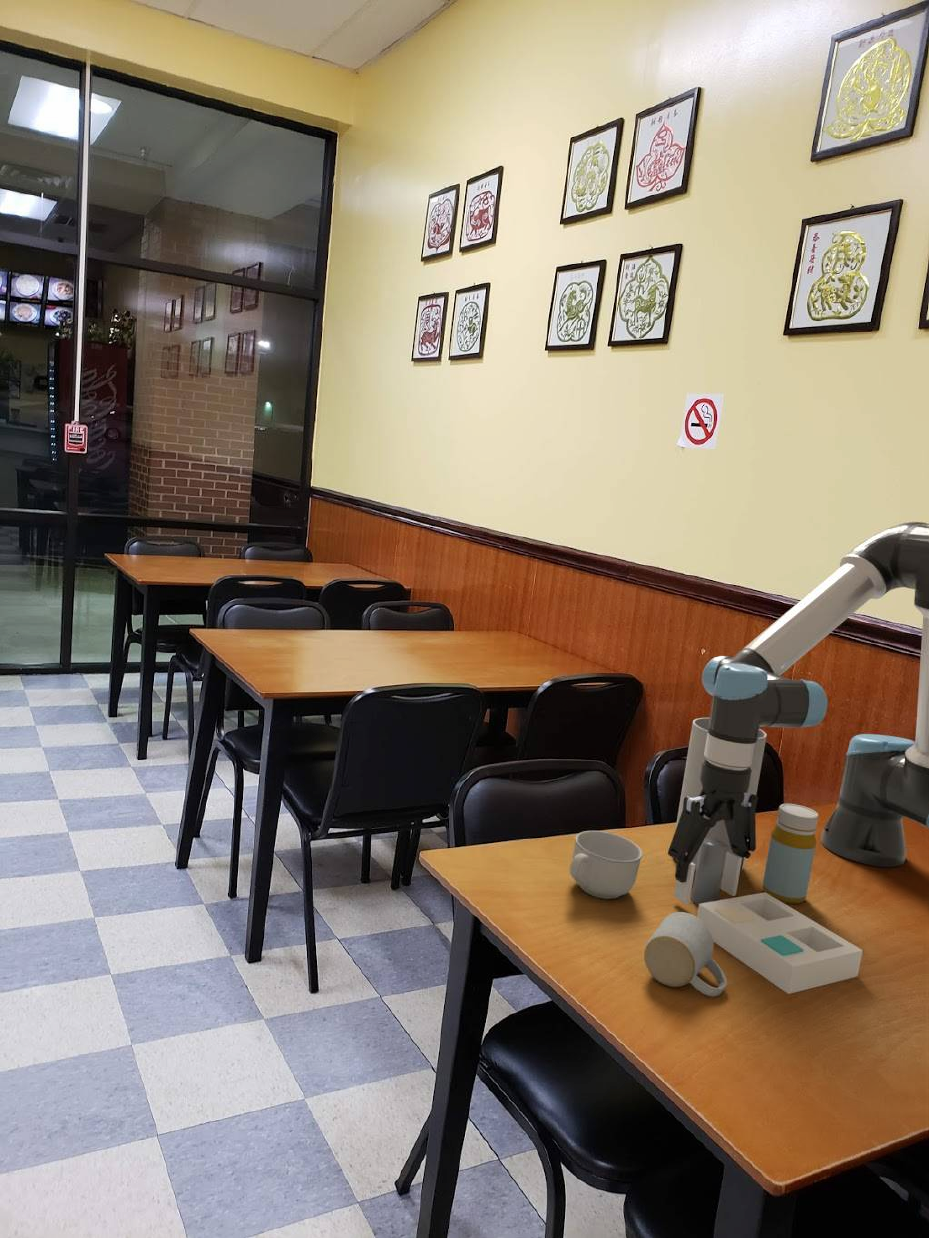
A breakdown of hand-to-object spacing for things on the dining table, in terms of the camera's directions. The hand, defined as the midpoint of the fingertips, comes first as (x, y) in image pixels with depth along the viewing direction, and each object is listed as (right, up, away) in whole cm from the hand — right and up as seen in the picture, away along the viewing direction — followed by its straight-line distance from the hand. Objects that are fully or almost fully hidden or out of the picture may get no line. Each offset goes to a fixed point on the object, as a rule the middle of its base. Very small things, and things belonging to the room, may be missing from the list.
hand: (705, 895), depth 146 cm
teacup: (-18, +1, -1) cm, 18 cm away
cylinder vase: (+5, +1, +16) cm, 17 cm away
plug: (0, -1, 0) cm, 1 cm away
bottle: (+15, -2, +6) cm, 16 cm away
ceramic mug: (-9, -4, -24) cm, 26 cm away
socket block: (+6, -4, -14) cm, 16 cm away
